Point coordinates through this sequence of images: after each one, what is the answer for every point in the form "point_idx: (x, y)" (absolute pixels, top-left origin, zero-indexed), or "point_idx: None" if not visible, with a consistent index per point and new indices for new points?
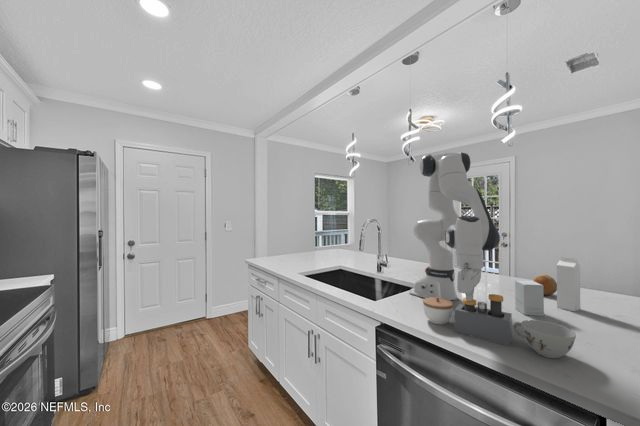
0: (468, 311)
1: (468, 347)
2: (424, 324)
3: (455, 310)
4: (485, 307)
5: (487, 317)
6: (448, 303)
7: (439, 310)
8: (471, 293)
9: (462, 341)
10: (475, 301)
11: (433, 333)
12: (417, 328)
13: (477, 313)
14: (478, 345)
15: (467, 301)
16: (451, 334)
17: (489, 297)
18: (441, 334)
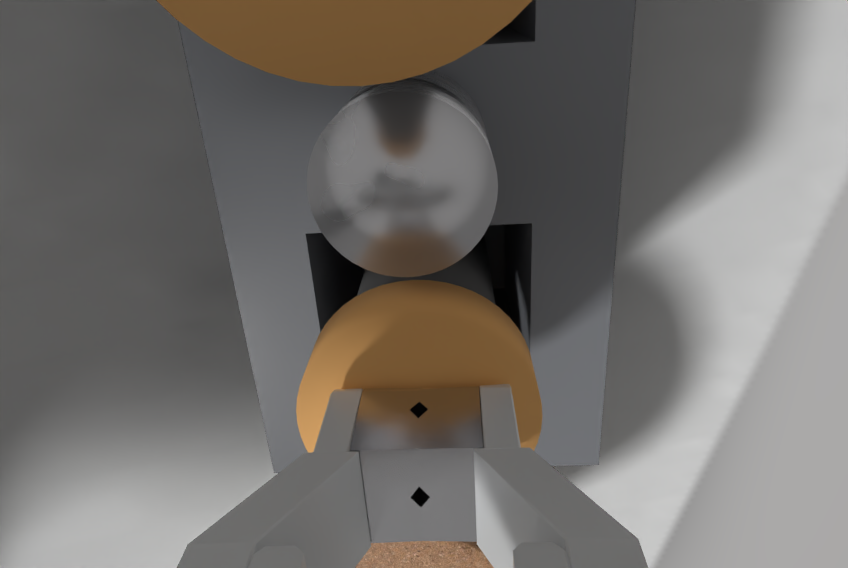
0: (558, 313)
1: (843, 124)
2: None
3: (596, 449)
4: (457, 99)
5: (628, 10)
6: (367, 566)
7: None
8: (584, 508)
9: (729, 202)
10: (440, 318)
11: (692, 428)
12: (663, 536)
13: (570, 187)
14: (743, 55)
15: (540, 427)
16: (622, 317)
17: (513, 17)
18: (675, 378)
